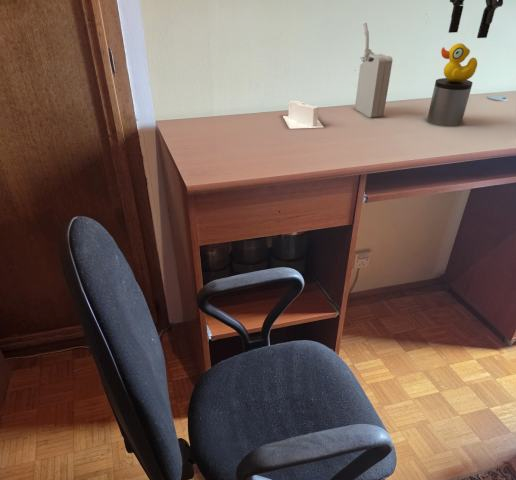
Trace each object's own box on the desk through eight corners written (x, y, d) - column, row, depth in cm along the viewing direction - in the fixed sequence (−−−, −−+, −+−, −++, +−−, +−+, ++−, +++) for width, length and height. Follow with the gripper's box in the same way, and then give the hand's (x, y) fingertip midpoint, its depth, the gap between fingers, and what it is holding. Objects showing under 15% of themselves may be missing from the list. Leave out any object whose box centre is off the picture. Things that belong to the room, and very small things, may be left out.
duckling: (435, 82, 140) (443, 44, 133) (433, 79, 144) (442, 41, 137) (473, 84, 138) (484, 45, 131) (471, 80, 142) (481, 42, 135)
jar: (462, 127, 143) (473, 86, 136) (426, 124, 146) (435, 84, 138) (461, 118, 151) (471, 79, 143) (427, 115, 154) (435, 77, 146)
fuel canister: (350, 107, 163) (360, 22, 146) (363, 106, 164) (374, 22, 147) (369, 118, 152) (383, 28, 135) (383, 117, 153) (398, 27, 136)
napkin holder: (324, 127, 144) (326, 107, 140) (289, 128, 143) (290, 109, 139) (314, 114, 155) (315, 96, 151) (282, 116, 154) (282, 97, 150)
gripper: (449, -61, 127) (431, 30, 141) (511, -64, 109) (483, 40, 123) (472, -61, 129) (452, 29, 142) (536, -64, 110) (506, 39, 124)
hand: (466, 35), depth 132 cm, fingers open, 13 cm apart
